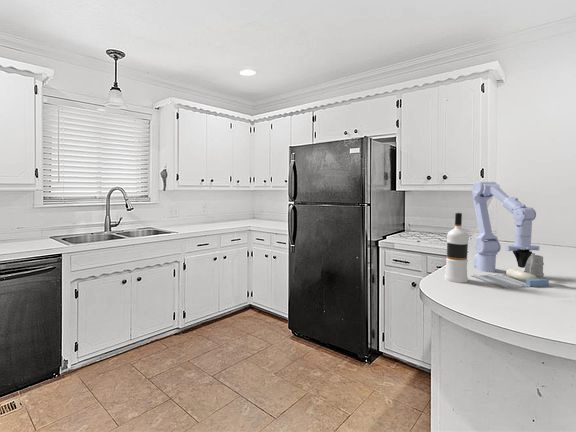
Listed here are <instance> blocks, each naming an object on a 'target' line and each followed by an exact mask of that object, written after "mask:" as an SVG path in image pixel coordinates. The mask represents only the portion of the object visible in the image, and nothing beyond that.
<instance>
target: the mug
mask: <svg viewBox="0 0 576 432" xmlns="http://www.w3.org/2000/svg"><path fill="white" fill-rule="evenodd" d="M544 265H545V263H544V256H542V255H539V254H538V255H537V254H536V253H535V252H532V254H531V255H530V257H529V258H528V260H527V262H526V265H525V268H524V270H523V272H526V273H529V274H533V275H535V276H536V277H537V279H544V278H543V277H544V276H545V273H544Z"/></svg>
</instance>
